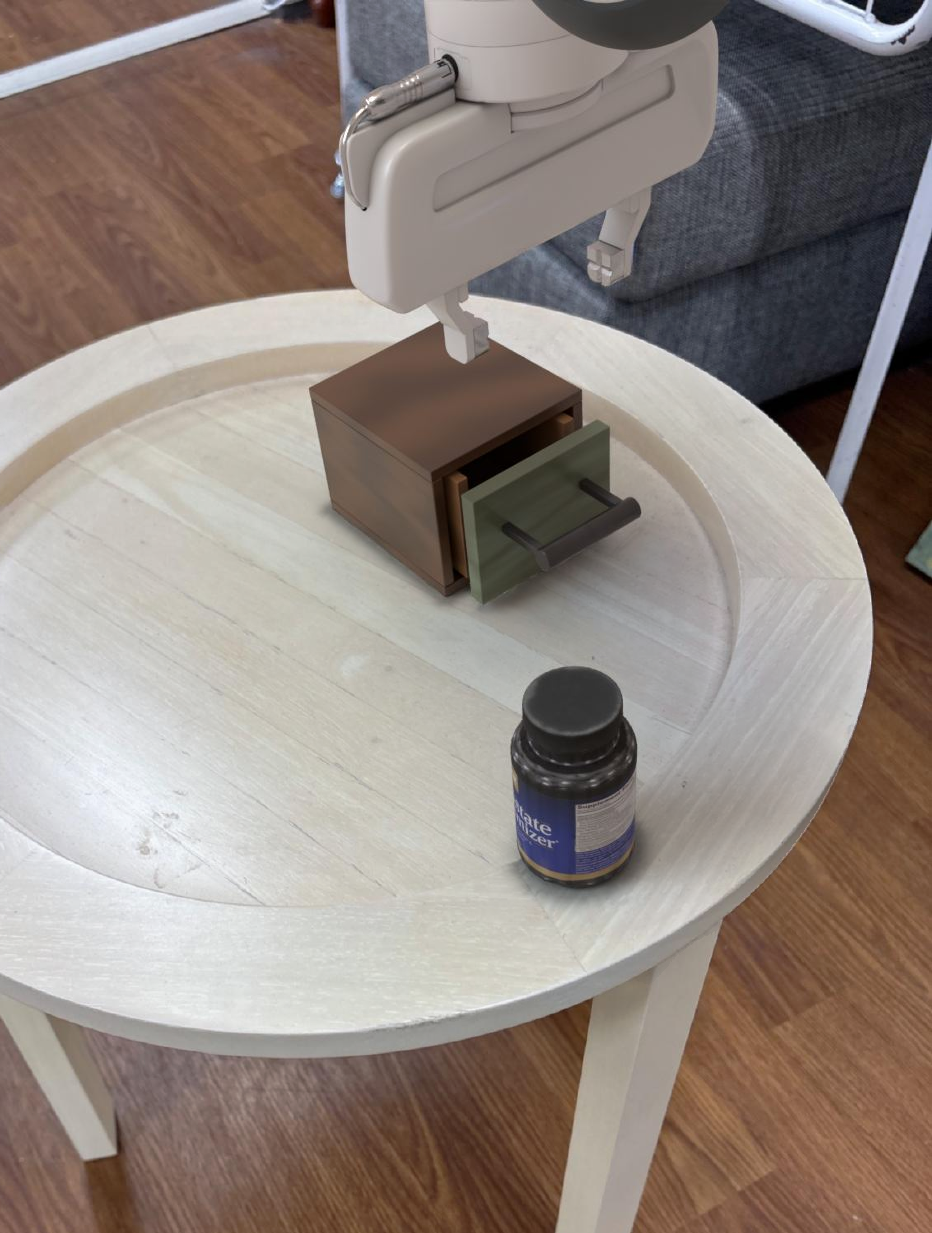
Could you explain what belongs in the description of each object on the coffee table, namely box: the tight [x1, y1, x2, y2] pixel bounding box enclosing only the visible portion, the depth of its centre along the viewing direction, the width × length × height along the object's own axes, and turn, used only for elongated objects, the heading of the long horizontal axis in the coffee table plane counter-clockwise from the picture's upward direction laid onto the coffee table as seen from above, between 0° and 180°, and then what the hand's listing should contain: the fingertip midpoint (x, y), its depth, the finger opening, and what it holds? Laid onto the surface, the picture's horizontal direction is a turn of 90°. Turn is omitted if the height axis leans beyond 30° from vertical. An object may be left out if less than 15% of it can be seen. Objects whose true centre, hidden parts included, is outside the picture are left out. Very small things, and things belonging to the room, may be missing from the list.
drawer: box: [442, 412, 642, 606], centre depth 82 cm, size 17×10×8 cm, turn 33°
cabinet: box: [308, 320, 584, 597], centre depth 86 cm, size 14×12×10 cm
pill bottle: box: [509, 665, 638, 889], centre depth 65 cm, size 6×6×11 cm
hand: (540, 316), depth 67 cm, fingers open, 8 cm apart
